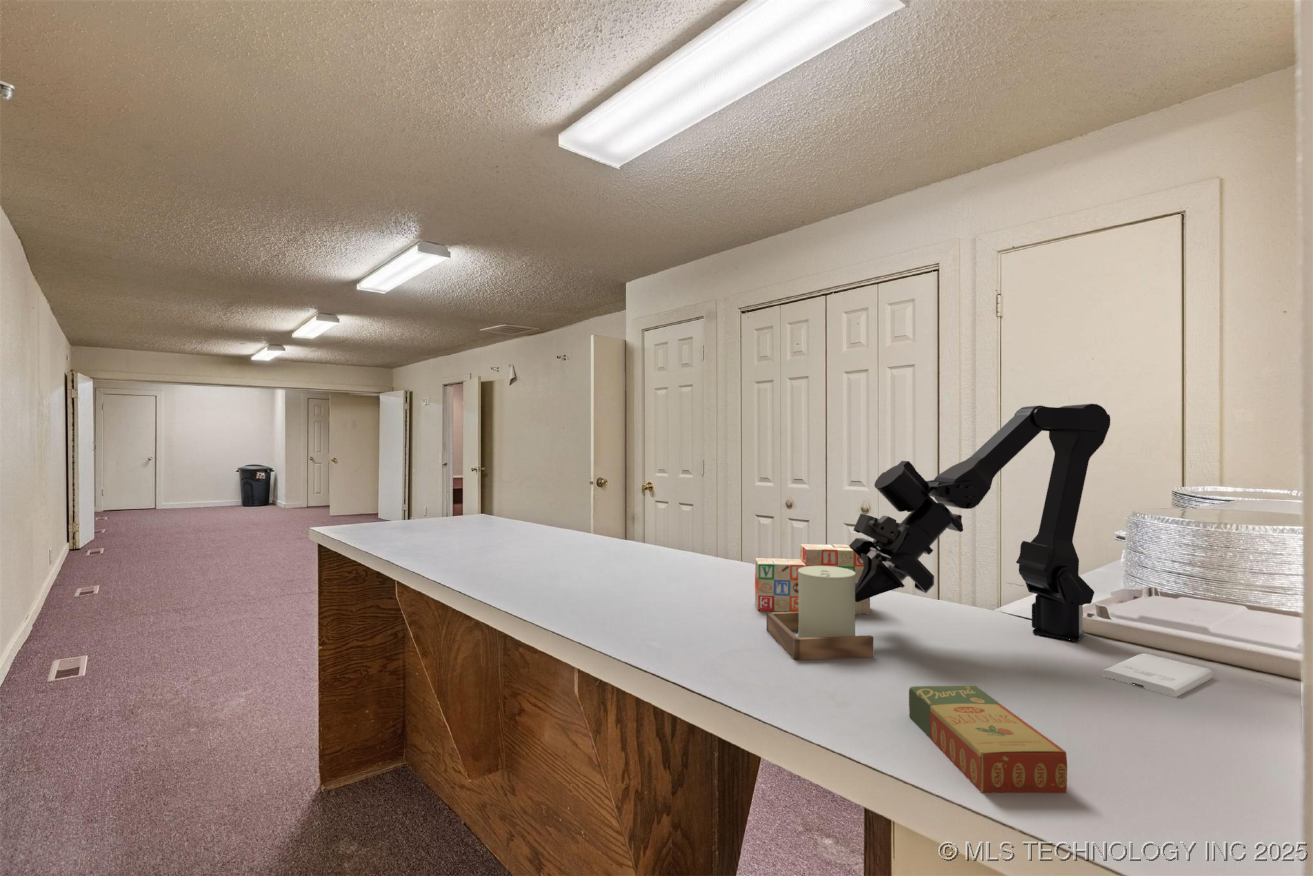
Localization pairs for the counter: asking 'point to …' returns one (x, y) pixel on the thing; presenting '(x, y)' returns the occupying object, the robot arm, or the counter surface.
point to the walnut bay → (815, 640)
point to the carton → (988, 741)
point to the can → (826, 601)
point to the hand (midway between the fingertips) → (853, 599)
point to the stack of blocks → (781, 576)
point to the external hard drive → (1159, 674)
